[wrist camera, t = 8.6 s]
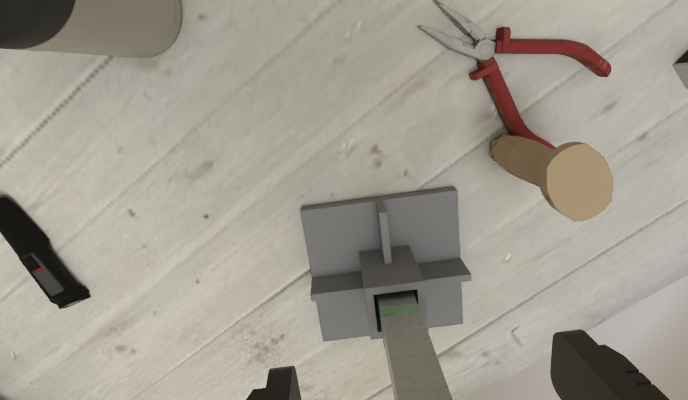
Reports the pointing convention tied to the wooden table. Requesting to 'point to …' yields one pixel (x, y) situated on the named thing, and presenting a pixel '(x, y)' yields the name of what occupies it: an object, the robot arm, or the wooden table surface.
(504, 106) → the pliers
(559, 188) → the handle
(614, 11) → the wooden table surface
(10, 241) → the electric trimmer
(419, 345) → the column
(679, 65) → the padlock
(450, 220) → the stand
